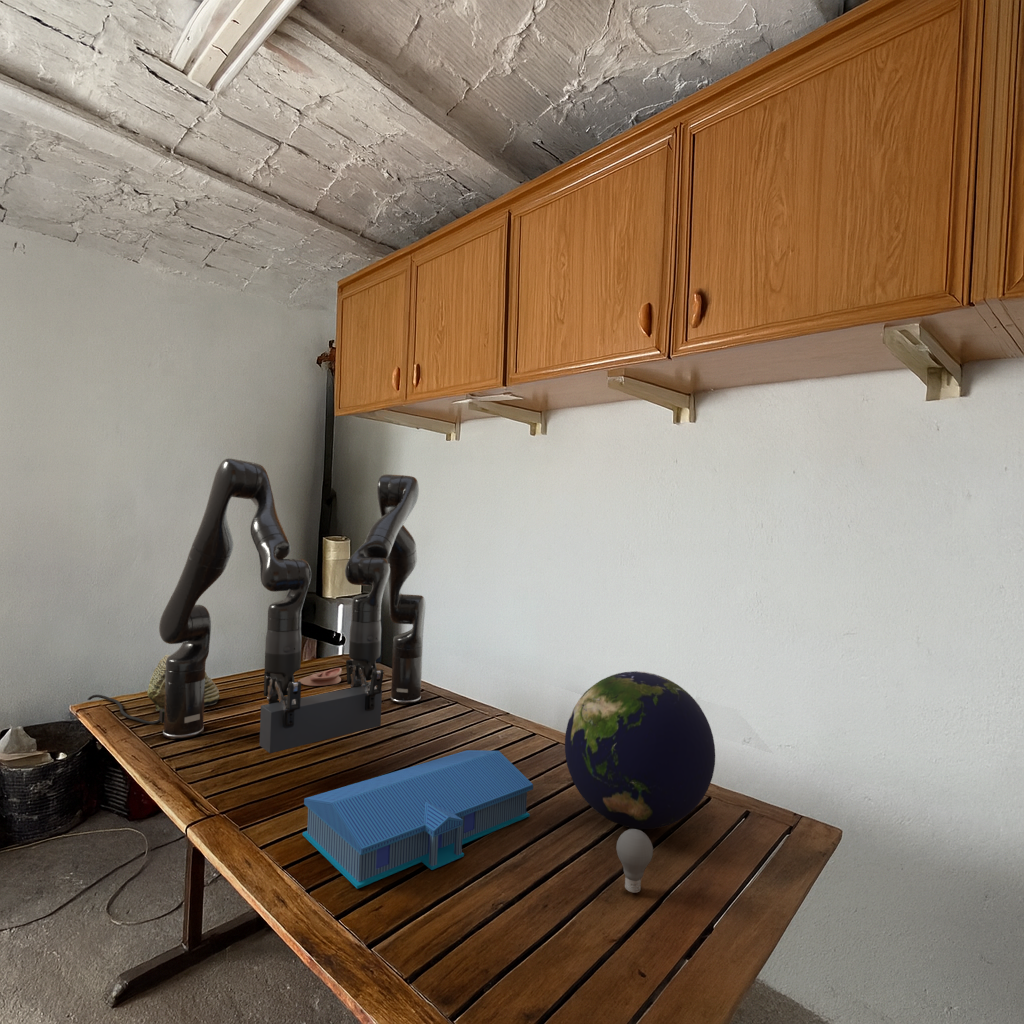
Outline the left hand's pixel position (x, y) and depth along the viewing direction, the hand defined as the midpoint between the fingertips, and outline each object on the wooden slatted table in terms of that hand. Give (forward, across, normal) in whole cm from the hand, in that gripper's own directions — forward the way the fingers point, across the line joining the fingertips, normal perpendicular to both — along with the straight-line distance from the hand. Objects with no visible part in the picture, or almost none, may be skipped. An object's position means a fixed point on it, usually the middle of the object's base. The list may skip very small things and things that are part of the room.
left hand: (280, 722), depth 141 cm
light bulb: (+13, -75, -28) cm, 81 cm away
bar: (+5, 0, -10) cm, 12 cm away
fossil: (+13, +62, +2) cm, 64 cm away
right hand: (+1, 0, -21) cm, 21 cm away
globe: (+13, -61, -48) cm, 79 cm away
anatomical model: (+13, +63, -41) cm, 76 cm away
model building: (+13, -37, -13) cm, 42 cm away
